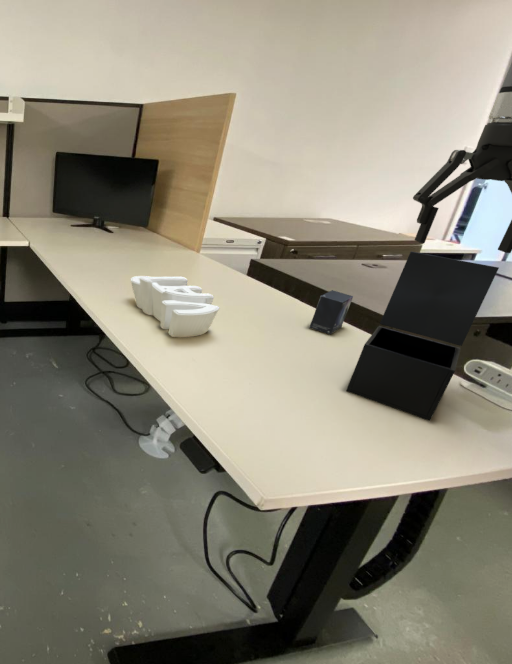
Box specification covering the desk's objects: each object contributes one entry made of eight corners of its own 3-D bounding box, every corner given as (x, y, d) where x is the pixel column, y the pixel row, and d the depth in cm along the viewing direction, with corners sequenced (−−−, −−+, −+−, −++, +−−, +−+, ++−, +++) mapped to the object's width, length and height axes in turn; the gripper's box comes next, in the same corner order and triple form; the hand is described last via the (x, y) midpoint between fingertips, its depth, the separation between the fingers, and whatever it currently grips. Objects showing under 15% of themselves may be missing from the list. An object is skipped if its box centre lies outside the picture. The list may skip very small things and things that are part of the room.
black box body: (429, 421, 96) (455, 370, 91) (345, 391, 105) (364, 344, 100) (437, 393, 107) (460, 347, 102) (361, 368, 117) (378, 325, 112)
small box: (331, 335, 136) (343, 302, 131) (308, 328, 140) (319, 295, 135) (342, 327, 143) (354, 295, 138) (320, 320, 147) (331, 289, 142)
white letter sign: (224, 344, 124) (233, 307, 120) (166, 344, 121) (174, 306, 117) (169, 299, 155) (175, 268, 151) (122, 298, 152) (127, 267, 148)
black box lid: (499, 267, 98) (498, 267, 99) (410, 251, 107) (410, 251, 108) (461, 346, 102) (461, 345, 103) (379, 323, 111) (379, 323, 112)
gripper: (590, 128, 79) (528, 251, 88) (421, 118, 85) (379, 234, 94) (625, 126, 73) (554, 260, 81) (439, 116, 79) (392, 241, 88)
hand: (460, 246), depth 88 cm, fingers open, 13 cm apart
